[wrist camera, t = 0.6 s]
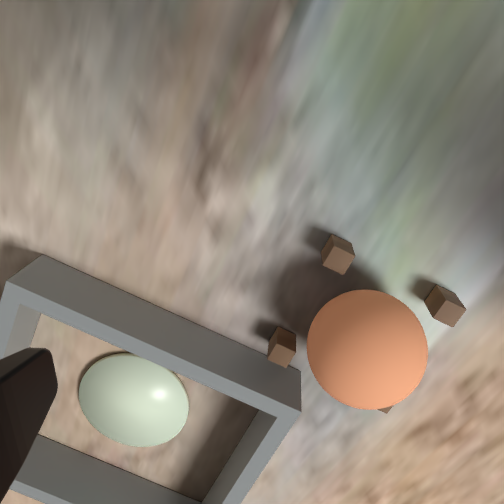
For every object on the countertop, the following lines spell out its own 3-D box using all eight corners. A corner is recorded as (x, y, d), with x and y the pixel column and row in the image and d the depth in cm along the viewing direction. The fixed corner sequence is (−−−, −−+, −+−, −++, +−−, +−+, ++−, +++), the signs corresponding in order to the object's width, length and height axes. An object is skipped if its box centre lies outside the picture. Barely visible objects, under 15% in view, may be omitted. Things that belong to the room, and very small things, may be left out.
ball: (433, 299, 21) (471, 363, 17) (376, 377, 23) (396, 454, 19) (337, 253, 21) (349, 306, 16) (287, 336, 23) (285, 405, 18)
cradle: (455, 293, 21) (466, 309, 20) (381, 393, 23) (386, 413, 22) (331, 233, 21) (334, 245, 19) (268, 341, 23) (266, 359, 22)
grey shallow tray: (300, 371, 23) (301, 412, 21) (208, 516, 28) (198, 565, 25) (42, 254, 22) (6, 280, 19) (-11, 424, 27) (-47, 466, 24)
